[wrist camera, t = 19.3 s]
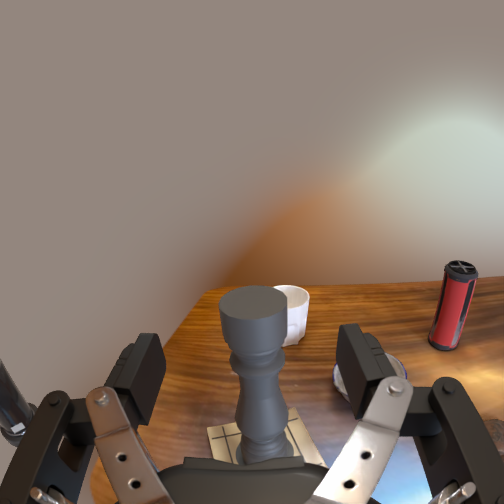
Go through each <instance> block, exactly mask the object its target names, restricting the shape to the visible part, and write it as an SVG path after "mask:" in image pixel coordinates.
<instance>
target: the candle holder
mask: <svg viewBox="0 0 504 504" xmlns="http://www.w3.org/2000/svg"><path fill="white" fill-rule="evenodd" d="M219 311H220V318H221V325H222V331H223V336H224V339H225V342H226V343H228V345H229V348H230V349H231V350H232V352H231V355H230V359H229V361H230V364H231V367H232V370H233V371H234V372H236V373H237V374H238V375H239V380H240V387H241V390H240V395H239V400H238V405H237V410H236V414H235V421H236V424H237V427H238V429H239V430H240V431H241V432H242V435H241V442H240V448H241V452H242V457H243V460H244V462H245V464H246V465H247V464H251V463H256V462H260V461H264V460H268V459H271V458H279V457H287V450H288V439H287V437H286V433H285V431H284V429H285V427H286V426H287V424H288V417H289V411H288V409H287V406H286V404H285V401H284V399H283V396H282V393H281V391H280V388H279V385H278V372H280V370H281V369H282V367H283V366H284V364H285V353H284V351H283V350H282V348H281V346H282V345H283V343H284V339H285V338H286V337H287V331H288V313H287V296H286V295H285V294H284V293H283V292H282V291H280V290H278V289H276V288H273V287H268V286H246V287H241V288H237V289H235V290H232V291H229V292H228V293H226V294H225V295H224V296H223V297H221V299H220V302H219Z"/></svg>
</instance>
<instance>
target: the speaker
mask: <svg viewBox="0 0 504 504" xmlns="http://www.w3.org/2000/svg"><path fill="white" fill-rule="evenodd" d="M444 271H445V273H444V278H443V283H442V288H441V292H440V297H439V301H438V305H437V310H436V313H435V317H434V321H433V325H432V328H431V331H430V333H429V336H428V339H429V342H430V343H431V344H432V345H433V346H434V347H436V348H437V349H440V350H451V349H454V348H456V347H457V345H458V343H459V338H460V335H461V332H462V329H463V326H464V323H465V320H466V316H467V313H468V310H469V306H470V303H471V299H472V295H473V291H474V287H475V283H476V280H477V278H478V272H477V270H476V268H475V267H474V266H473V265H472V264H470V263H467V262H464V261H451V262H449V263H448V264H447V265H446V266H445V269H444Z"/></svg>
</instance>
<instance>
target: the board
mask: <svg viewBox="0 0 504 504" xmlns="http://www.w3.org/2000/svg"><path fill="white" fill-rule="evenodd" d="M288 411H289V417H288V424H287V426H286V427H285V429H284V431H285V433H286V437H287V439H288V450H287V457H291V456H301V455H303V456H304V462H305V463H312V464H317V465H321V466H324V467H326V468H328V467H327V466H326V464H325V462H324V460H323V458H322V457H321V455H320V453H319V451H318V449H317V448H316V446H315V444H314V442H313V440H312V439H311V437H310V435H309V433H308V431H307V429H306V428H305V426H304V424H303V422H302V420H301V418H300V416H299V414H298V413H297V411H296V409H295V407H294V408H291V409H288ZM207 431H208V436H209V440H210V445H211V449H212V454H213V458H214V459H216V460H220V461H225V462H229V463H234V464H238V465H246V464H245V462H244V460H243V457H242V452H241V448H240V442H241V435H242V432H241V431H240V430H239V429H238V427H237V424H236V422H235V423H230V424H225V425H219V426H214V427H208V428H207Z"/></svg>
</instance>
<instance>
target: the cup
mask: <svg viewBox="0 0 504 504" xmlns="http://www.w3.org/2000/svg"><path fill="white" fill-rule="evenodd" d="M273 288H276V289H278V290H280V291H282V292H283V293H284V294H285V295H286V296H287V313H288V331H287V337H286V338H285V339H284V343H283V345H282V346H281V347H285V346H288V345H293V344H297V345H298V341H299V340H300V339H301V338H302V337H304V336H305V328H306V320H307V312H308V305H309V294H308V292H307V291H306V290H304V289H302V288H300V287H296V286H289V285H281V286H275V287H273Z"/></svg>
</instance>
